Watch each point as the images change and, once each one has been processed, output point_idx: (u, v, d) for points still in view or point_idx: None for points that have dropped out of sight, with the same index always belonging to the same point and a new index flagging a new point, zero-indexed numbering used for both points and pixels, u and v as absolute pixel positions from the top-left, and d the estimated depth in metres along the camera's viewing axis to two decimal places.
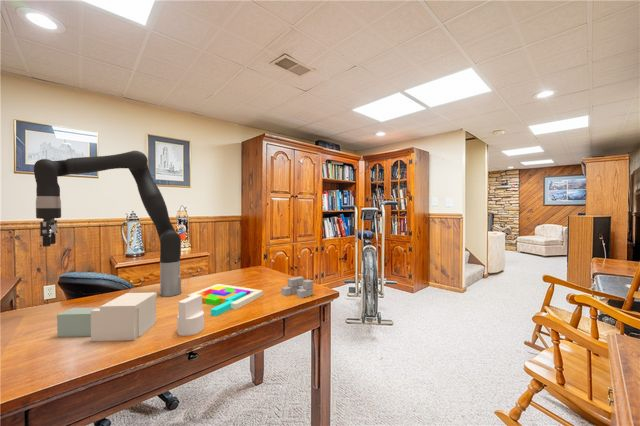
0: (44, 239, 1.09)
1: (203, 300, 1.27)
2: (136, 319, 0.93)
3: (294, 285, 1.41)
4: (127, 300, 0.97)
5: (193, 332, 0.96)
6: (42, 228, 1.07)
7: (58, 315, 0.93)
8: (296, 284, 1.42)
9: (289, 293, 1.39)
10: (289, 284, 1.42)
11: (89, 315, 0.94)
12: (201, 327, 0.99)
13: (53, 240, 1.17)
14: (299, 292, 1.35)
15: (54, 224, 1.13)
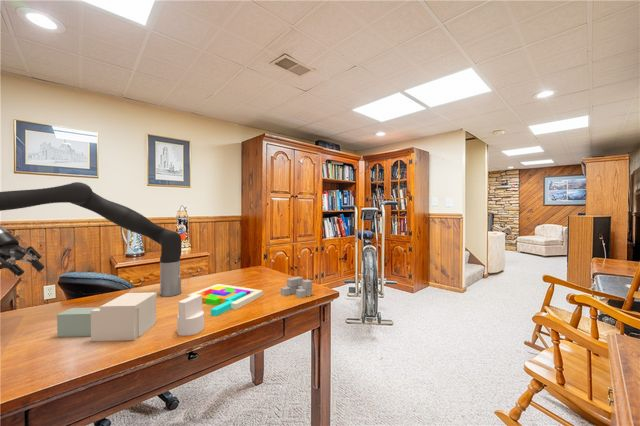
0: (10, 269, 0.90)
1: (203, 300, 1.27)
2: (136, 319, 0.93)
3: (293, 285, 1.41)
4: (127, 300, 0.97)
5: (193, 332, 0.96)
6: None
7: (58, 315, 0.93)
8: (295, 284, 1.42)
9: (288, 293, 1.39)
10: (288, 284, 1.42)
11: (89, 315, 0.94)
12: (201, 327, 0.99)
13: (38, 265, 0.98)
14: (298, 292, 1.35)
15: (11, 250, 0.93)
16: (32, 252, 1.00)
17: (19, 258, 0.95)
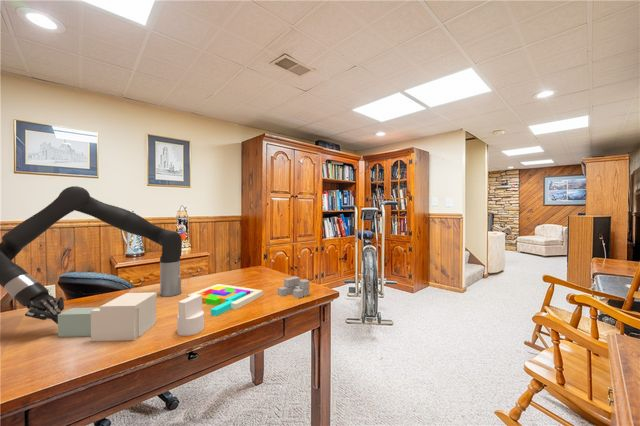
0: (53, 319, 0.95)
1: (203, 300, 1.27)
2: (136, 319, 0.93)
3: (290, 285, 1.41)
4: (127, 300, 0.97)
5: (193, 332, 0.96)
6: (35, 316, 0.91)
7: (59, 315, 0.93)
8: (292, 284, 1.42)
9: (285, 293, 1.39)
10: (285, 284, 1.42)
11: (90, 315, 0.94)
12: (201, 327, 0.99)
13: None
14: (296, 292, 1.35)
15: (43, 301, 0.94)
16: (59, 303, 1.00)
17: None
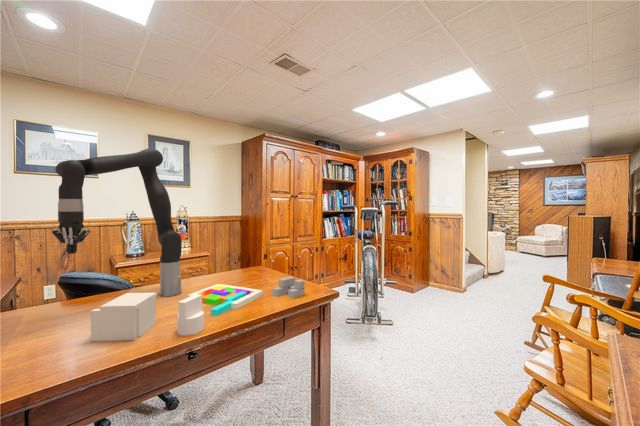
0: (74, 246, 1.07)
1: (203, 300, 1.27)
2: (136, 319, 0.93)
3: (285, 285, 1.41)
4: (127, 300, 0.97)
5: (193, 332, 0.96)
6: (82, 237, 1.07)
7: None
8: (287, 284, 1.42)
9: (280, 293, 1.39)
10: (280, 284, 1.41)
11: None
12: (201, 327, 0.99)
13: None
14: (291, 292, 1.35)
15: None
16: None
17: None
